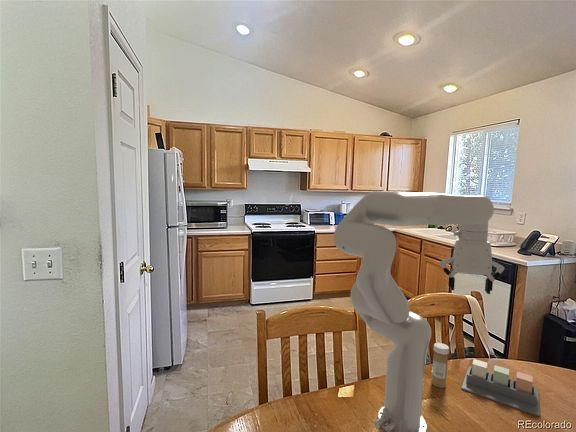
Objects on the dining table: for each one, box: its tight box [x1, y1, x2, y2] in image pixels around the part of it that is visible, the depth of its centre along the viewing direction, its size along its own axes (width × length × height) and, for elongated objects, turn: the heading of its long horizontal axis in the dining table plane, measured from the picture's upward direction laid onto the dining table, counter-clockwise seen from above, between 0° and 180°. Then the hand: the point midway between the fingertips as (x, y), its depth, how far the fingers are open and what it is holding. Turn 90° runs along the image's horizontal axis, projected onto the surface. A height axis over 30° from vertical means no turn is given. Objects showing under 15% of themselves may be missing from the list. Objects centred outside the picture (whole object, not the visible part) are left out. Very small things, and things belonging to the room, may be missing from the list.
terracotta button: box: [515, 371, 534, 394], centre depth 100 cm, size 4×4×4 cm
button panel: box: [461, 365, 541, 418], centre depth 103 cm, size 14×20×4 cm
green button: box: [492, 364, 510, 387], centre depth 103 cm, size 4×4×4 cm
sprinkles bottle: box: [431, 342, 450, 389], centre depth 106 cm, size 5×5×13 cm
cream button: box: [471, 358, 488, 380], centre depth 107 cm, size 4×4×4 cm
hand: (469, 290), depth 99 cm, fingers open, 9 cm apart
